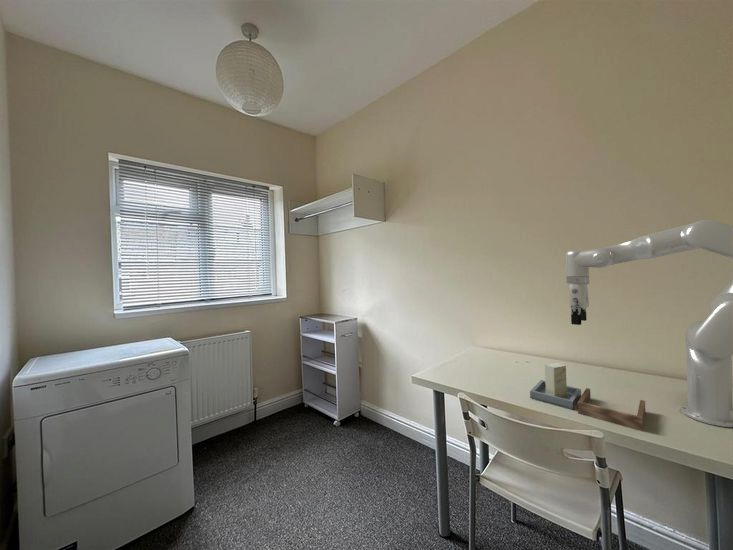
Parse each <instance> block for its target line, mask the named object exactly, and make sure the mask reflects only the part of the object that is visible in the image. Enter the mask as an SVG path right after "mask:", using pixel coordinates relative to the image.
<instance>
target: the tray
mask: <svg viewBox="0 0 733 550" xmlns="http://www.w3.org/2000/svg"><path fill="white" fill-rule="evenodd" d="M529 396H530V397H529V398H532V399H531V400H534V399H535V400H534V401H537V402H541V401H542V403H545V404H550V405H553V406H556V407H561V408H564V409H568V410H570V411H571V410H572V411H573V410H575V407H577V405H578V401H579V399H580V398H581V396H582V388H578V387H574V386H569V385H567V396H565V397H557V396H553V395H549V394H546V383H545V380H543V379H540V380H539V382H537V383H536V384H535V385H534V386H533V387H532V389H531V390H529Z"/></svg>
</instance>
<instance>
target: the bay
mask: <svg viewBox="0 0 733 550" xmlns="http://www.w3.org/2000/svg"><path fill="white" fill-rule="evenodd" d="M590 401H591V388H588V387H586V388H585V390H584V391H583V393H581V398H580V399H579V401H578V403H577V414H578V415H583V416H586V417H590V418H593V419H597V420H599V421H600V420H601V421H604V422H607V423H612V424H614V425H619V426H621V427H626V428H630V429H633V430H635V431H636V430H637V431H640V432H643V429H644V424H645V423H644V422H645V417H646V400H643V399H639V405H638V409H637V413H636V414H637V415H635V414H631V413H627V412H625V411H624V412H623V411H619V410H616V409H611V408H608V407H603V406H599V405H595V404H591V403H590Z"/></svg>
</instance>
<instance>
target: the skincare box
mask: <svg viewBox="0 0 733 550" xmlns="http://www.w3.org/2000/svg"><path fill="white" fill-rule="evenodd" d="M566 367H567V365H565V364H562V363H558V362H551V363H546V364H544V379H545V380H544V381H545V383H546V394H549V395H553V396H557V397H565V396H567V386H568V385H567V368H566Z"/></svg>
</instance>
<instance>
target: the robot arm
mask: <svg viewBox="0 0 733 550" xmlns="http://www.w3.org/2000/svg"><path fill="white" fill-rule="evenodd" d="M698 249H702V250H705V251H708V252H711V253H714V254H717V255H720V256H724V257H727V258H730V259H733V225H730V224H727V223H725V222H724V223H723V222H720V221H716V220H712V219H702V220H698V221H695V222H692V223H689V224H684V225H680V226H677V227H673V228H669V229H665V230H662V231H658V232H653V233H652V232H651V233H649V234H648V233H647V234H645V235H642V236H638V237H637V238H635V239H632V240H630V241H626V242H621V243H618V244H614V245H610V246H606V247H599V248H593V249H575V250H568V251H567V252H566V253H565V274H566V275H565V276H566V277H565V280H566V281H565V282H566V285H568V286H569V288H568V289H569V291H568V292H569V293H568V294H569V297H568V299H569V309H571V311H570V324H571V325H576V326H581V325H582V321H587V308H589V307H590V300H589V289H588V285H590V268H599V269H601V268H603V269H604V268H606V267H609V266H614V265H618V264H623V263H627V262H632V261H638V260H648V259H649V260H651V259H654V258H655V259H656V258H660V257H664V256H670V255H675V254H679V253H684V252H688V251H689V252H690V251H694V250H698ZM709 310H710V313H709V314H708V316H707V317H706V318H705V319H704V320H700V321H695V322H693V323H692V324H690V325H689V326H688V327H687V328H686V330H685V334H684V336H685V339H684V340H685V349H686V350H685V351H686V378H687V379H686V381H687V382H686V384H687V385H686V388H687V390H686V391H687V392H686V393H687V404H684V405H681V407H680V411H681V413H683V414H684V415H686V416H687V417H689V418H691V419H693V420H696V421H699V422H702V423H704V424H709V425H713V426H717V427H724V428H733V361H732V356H733V277H732V278H731V279H730V281H729V282H728V283H727V285H726V286H725V287H724V288H723V289H722V290H721V291H720V293H719V294H718V295H717V296H716V297H715V298H714V299H713V300H712V301H711V303H710V304H709Z"/></svg>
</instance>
